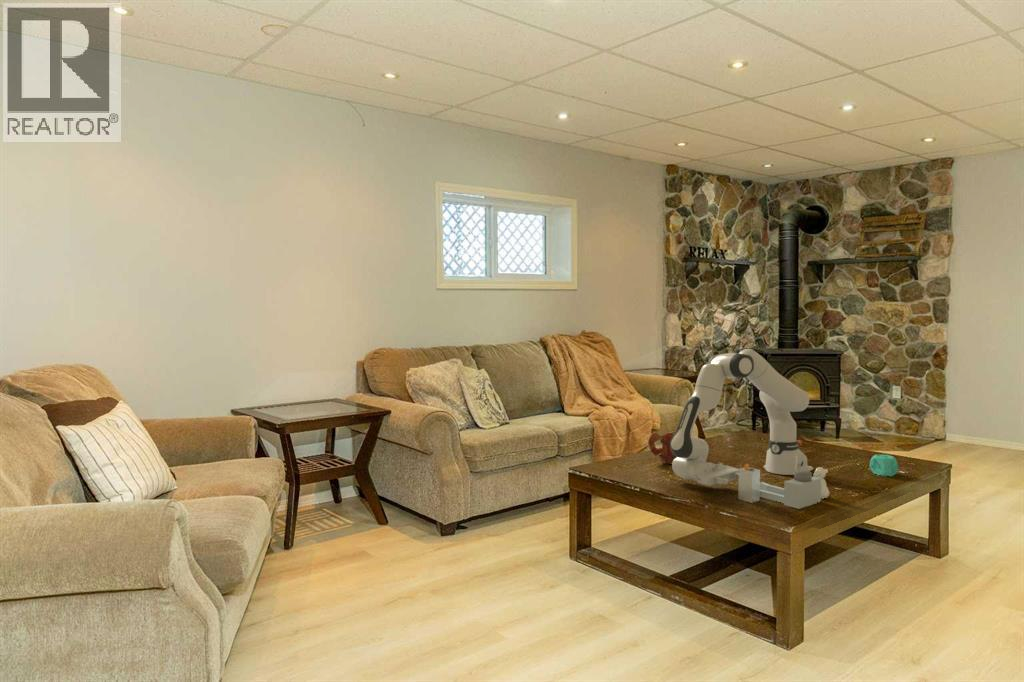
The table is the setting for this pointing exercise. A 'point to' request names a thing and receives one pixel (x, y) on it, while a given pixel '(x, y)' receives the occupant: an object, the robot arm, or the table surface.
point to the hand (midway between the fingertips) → (735, 480)
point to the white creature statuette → (822, 481)
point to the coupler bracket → (795, 490)
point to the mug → (666, 451)
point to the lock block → (749, 484)
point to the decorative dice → (883, 465)
